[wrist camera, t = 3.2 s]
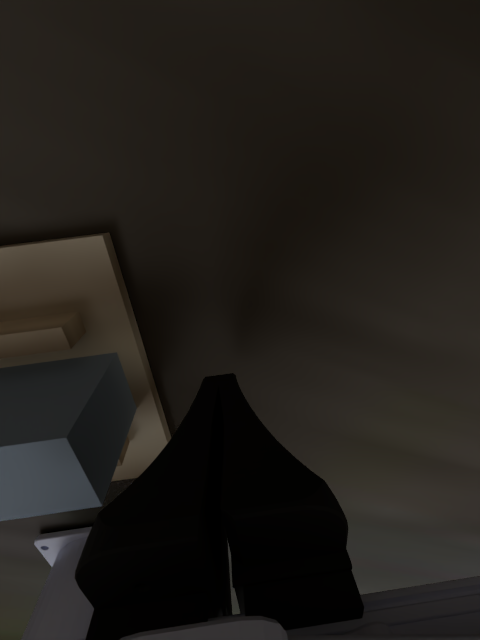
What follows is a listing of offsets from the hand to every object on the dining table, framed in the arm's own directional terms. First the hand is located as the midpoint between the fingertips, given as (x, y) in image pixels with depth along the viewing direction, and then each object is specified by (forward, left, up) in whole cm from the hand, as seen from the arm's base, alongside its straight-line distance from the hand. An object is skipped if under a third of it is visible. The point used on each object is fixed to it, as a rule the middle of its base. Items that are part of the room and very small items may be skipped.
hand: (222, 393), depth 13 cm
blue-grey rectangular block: (0, +10, -2) cm, 10 cm away
